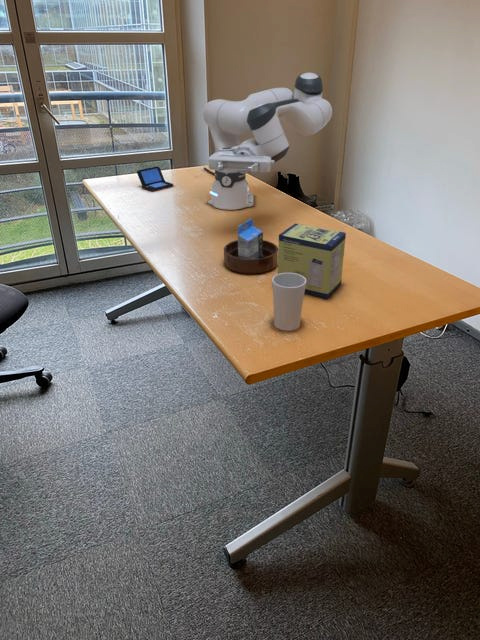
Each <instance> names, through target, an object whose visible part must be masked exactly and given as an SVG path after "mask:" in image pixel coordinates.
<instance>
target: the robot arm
mask: <svg viewBox="0 0 480 640" xmlns="http://www.w3.org/2000/svg"><path fill="white" fill-rule="evenodd" d="M323 91H324V85H323V80H322V77H321V76H320V75H319V74H317V73H314V72H305V73H304V72H303V73H300V74H299V75H298V76H297V77H296V79H295V82H294V91H292V90H291V89H290V88H287V87H273V88H269V89H265V90H261V91H258V92H254V93H251V94H249V95H248V96H247V97H246V98H245V99H243V100H235V101H234V100H228V99H223V98H218V99H213V100H210V101H208V102H207V103H206V104H205V105H204V108H203V112H202V117H203V120H204V122H205V124H206V125H207V127H208V130H209V132H210V136H211V139H212V142H213V147H214V152H213V154H211V155H210V156H209V157H208V159H207V164H208V168H206V167H203V170H205V171H206V172H208V173H210V174H211V175H214V179H215V180H214V181H213V182H212V183H211V191H209V194H210V195H211V198H210V199H208V200H207V203H208V205H211V206H213V207H214V208H216V209H219V210H228V211H229V210H230V211H232V210H233V211H234V210H241V209H245V208H252V207H254V201H255V199H254V198H255V197H254V196H255V195H254V193H252V192H249V182H248V180H247V179H246V174H249V173H250V174H252V173H270V172H271V170H272V165H274V164H275V163H276V162H278V161H280V160H281V159H283V158H284V157H285V156H286V155H287V153H288V151H289V149H290V144H289V141H288V138H287V136H286V133H285V131H284V128H283V126H282V124H281V121H280V118H282V117H283V118H284V119H285V121H286V122H287V124H288V126H289V128H290V129H291V131H292V132H293V133H294V134H295V135H297V136H299V137H301V138H302V137H303V138H307V137H311V136H313V135H315V134H317V133H318V132H320V131H321V130H322V129H323V128H324V127H326V125H328V123H329V122H330V120H331V118H332V116H333V107H332V104H331V103H330V102H329V101H328V100H327V99H325V98H323ZM251 133H252V135H253V137H251V138H248V139H245V140H244V141H242V142H241V141H240V139H239V136H246V135H250V134H251ZM213 171H214V172H213Z"/></svg>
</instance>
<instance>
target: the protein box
mask: <svg viewBox="0 0 480 640" xmlns="http://www.w3.org/2000/svg"><path fill="white" fill-rule="evenodd" d="M346 238H347V232H344V231H339V230H333V229H328V228H322V227H317V226H312V225H306V224H300V223H296V222H295V223H293V224H292V225H291V226H289V227H288V228H287V229H285V230H283V231H282V232H280V233H279V234H278V246H277V247H278V263H277V274H281V273H296V274H299V275H302V276H303V277H305V279H306V286H305V292H304V295H310V296H312V297H313V296H314V297H317V298H321V299H325V300H327V299H329V298H330V297H331V296H332V294H334V292H335V291H336V290H337V289H338V288H339V287H340V286H341V284H342V279H343V278H342V277H343V267H344V257H345V248H346V247H345V246H346Z"/></svg>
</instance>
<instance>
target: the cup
mask: <svg viewBox="0 0 480 640" xmlns="http://www.w3.org/2000/svg"><path fill="white" fill-rule="evenodd" d="M271 278H272V279H271V282H272V284H271V285H272V297H273V298H272V300H273V301H272V302H273V303H272V304H273V322H274V323H273V325H274V327H276V328H277V329H279V330H280V331H295V330H297V329H299V327H300V326H301V317H302V309H303V304H304V298H305V297H304V296H305V293H304V292H305V286H306V279H305V277H303V276H302V275H299V274H296V273H281V274H278V273H277V274H276V275H273V277H271Z"/></svg>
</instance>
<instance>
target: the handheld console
mask: <svg viewBox="0 0 480 640" xmlns="http://www.w3.org/2000/svg"><path fill="white" fill-rule="evenodd" d="M136 174H137V176H138V180H139V182H140V184H141V188H142V189H143V190H146V191H150V192H155V191H160V190H164V189H169V188H172V187H174V183H171V182H169V181H166V180H165V177H164V175H163V172H162V169H161V167H159V166H158V165H157V166H152V167H148V168H143V169H138V170H136Z"/></svg>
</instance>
